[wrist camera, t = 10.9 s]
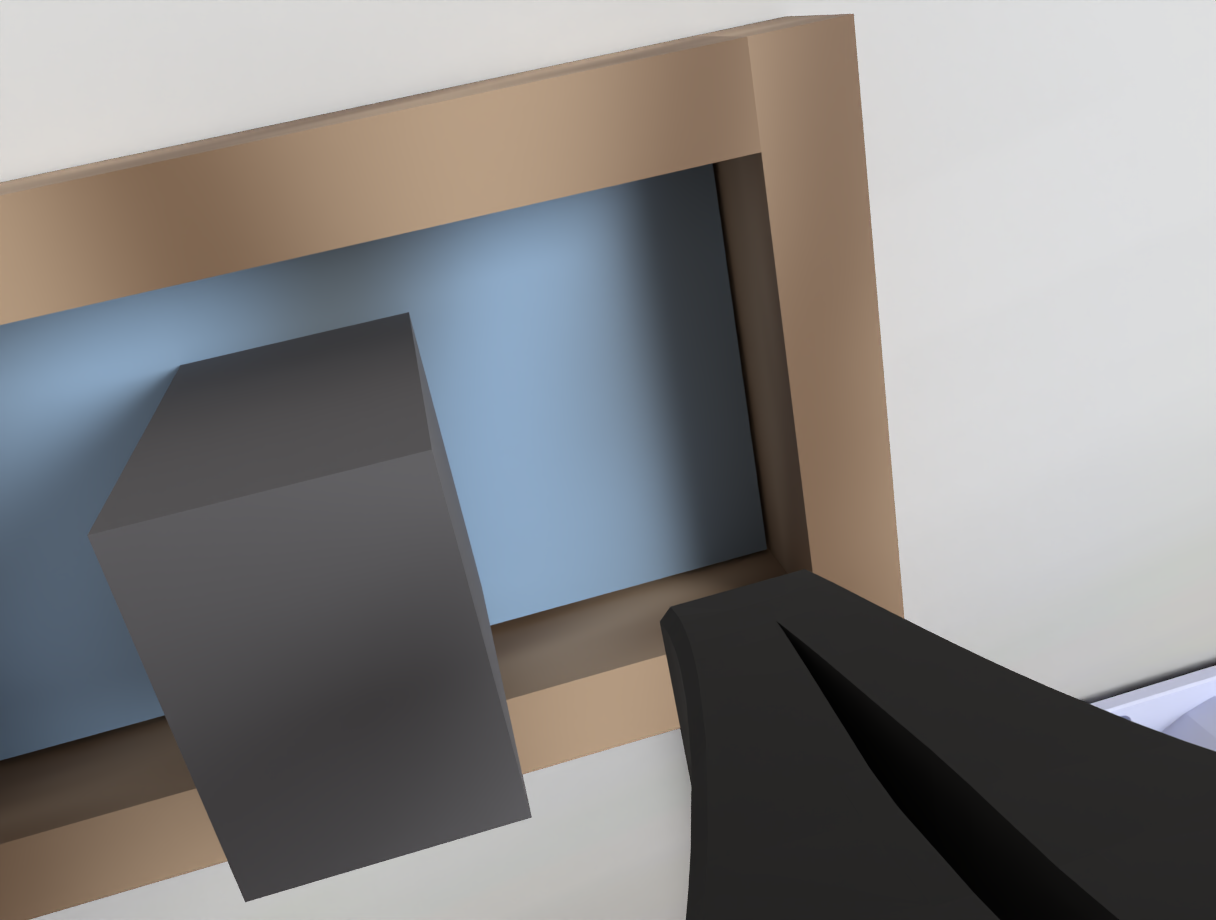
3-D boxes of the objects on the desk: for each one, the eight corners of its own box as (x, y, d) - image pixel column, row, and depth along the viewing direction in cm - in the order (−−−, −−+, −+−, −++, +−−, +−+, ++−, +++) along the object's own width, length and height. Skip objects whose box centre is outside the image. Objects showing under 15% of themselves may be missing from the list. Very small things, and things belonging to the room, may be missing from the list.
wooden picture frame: (785, 16, 16) (853, 14, 14) (883, 925, 24) (937, 1018, 22) (-397, 266, 14) (-540, 310, 12) (127, 1172, 22) (100, 1302, 20)
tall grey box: (409, 311, 16) (431, 449, 11) (481, 586, 18) (532, 817, 13) (180, 365, 16) (87, 536, 11) (280, 640, 18) (245, 901, 13)
